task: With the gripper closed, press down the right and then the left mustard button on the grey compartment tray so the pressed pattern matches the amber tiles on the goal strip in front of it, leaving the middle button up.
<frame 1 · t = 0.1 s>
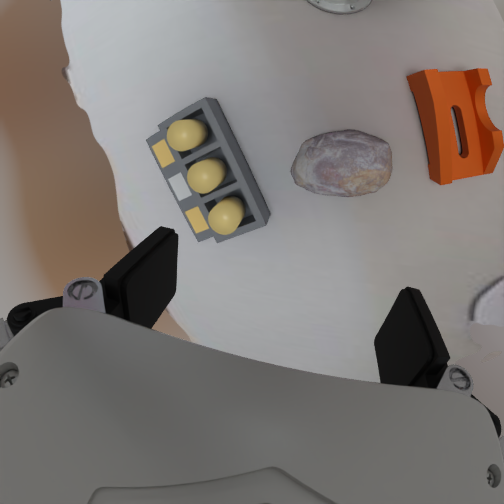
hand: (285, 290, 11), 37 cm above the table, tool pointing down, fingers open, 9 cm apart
stone: (340, 163, 43), on the table
goal strip: (183, 184, 49), on the table
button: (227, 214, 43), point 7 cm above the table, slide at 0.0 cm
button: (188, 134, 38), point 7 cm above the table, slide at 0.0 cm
button mid: (207, 174, 41), point 7 cm above the table, slide at 0.0 cm
grey compartment tray: (220, 166, 47), on the table
tape dispenser: (448, 123, 35), on the table
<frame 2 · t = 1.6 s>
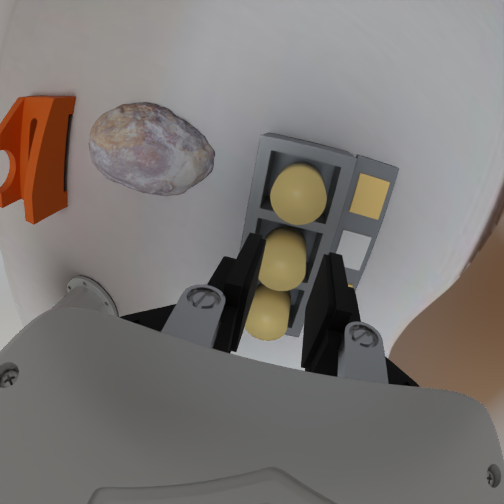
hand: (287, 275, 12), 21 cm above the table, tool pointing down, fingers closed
stone: (154, 148, 32), on the table
goal strip: (350, 247, 33), on the table
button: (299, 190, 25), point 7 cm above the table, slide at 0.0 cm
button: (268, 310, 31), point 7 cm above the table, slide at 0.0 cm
button mid: (282, 257, 28), point 7 cm above the table, slide at 0.0 cm
grey compartment tray: (287, 231, 34), on the table
tape dispenser: (48, 147, 35), on the table
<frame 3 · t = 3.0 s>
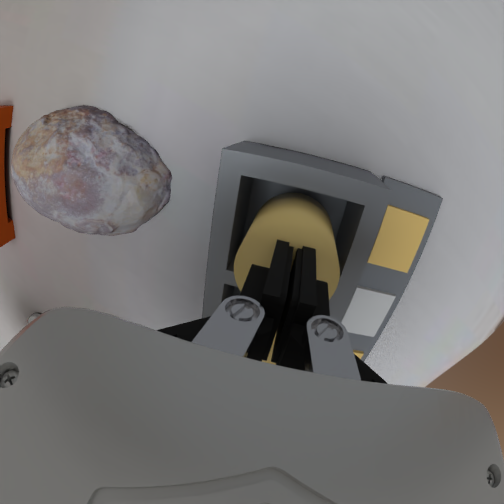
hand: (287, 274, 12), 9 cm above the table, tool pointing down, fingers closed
stone: (95, 168, 22), on the table
goal strip: (364, 307, 23), on the table
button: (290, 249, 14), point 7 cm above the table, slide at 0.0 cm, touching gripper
button mid: (263, 343, 17), point 7 cm above the table, slide at 0.0 cm
grey compartment tray: (275, 286, 23), on the table
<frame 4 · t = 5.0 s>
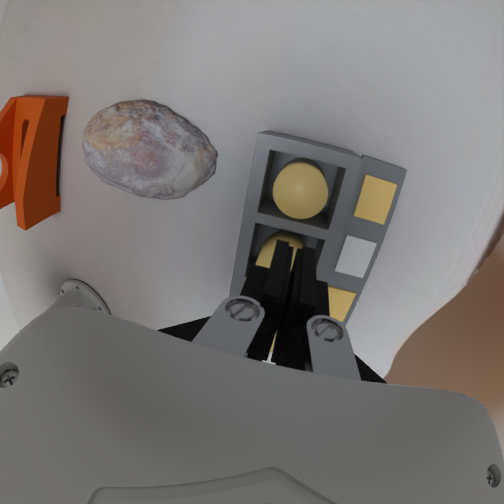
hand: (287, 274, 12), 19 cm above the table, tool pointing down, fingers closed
stone: (152, 148, 30), on the table
goal strip: (354, 253, 31), on the table
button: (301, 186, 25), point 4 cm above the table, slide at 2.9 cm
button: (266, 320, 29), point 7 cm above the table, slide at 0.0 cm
button mid: (281, 265, 26), point 7 cm above the table, slide at 0.0 cm
grey compartment tray: (287, 236, 32), on the table
tape dispenser: (41, 149, 33), on the table
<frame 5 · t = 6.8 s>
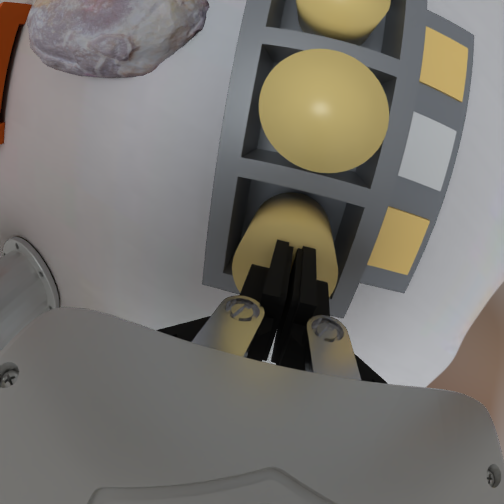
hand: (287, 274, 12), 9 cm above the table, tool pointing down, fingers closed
stone: (117, 20, 15), on the table
goal strip: (423, 150, 16), on the table
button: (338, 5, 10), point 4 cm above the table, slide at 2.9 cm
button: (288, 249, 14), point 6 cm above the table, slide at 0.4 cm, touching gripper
button mid: (321, 111, 11), point 7 cm above the table, slide at 0.0 cm
grey compartment tray: (315, 115, 17), on the table
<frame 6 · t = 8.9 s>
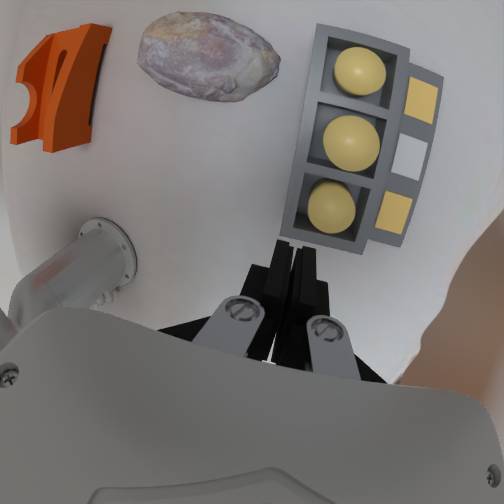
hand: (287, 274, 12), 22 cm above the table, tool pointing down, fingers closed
stone: (210, 56, 27), on the table
goal strip: (407, 155, 27), on the table
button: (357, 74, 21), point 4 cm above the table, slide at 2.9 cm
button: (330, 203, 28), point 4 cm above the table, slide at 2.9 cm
button mid: (348, 141, 22), point 7 cm above the table, slide at 0.0 cm
grey compartment tray: (341, 136, 28), on the table
tape dispenser: (74, 83, 31), on the table
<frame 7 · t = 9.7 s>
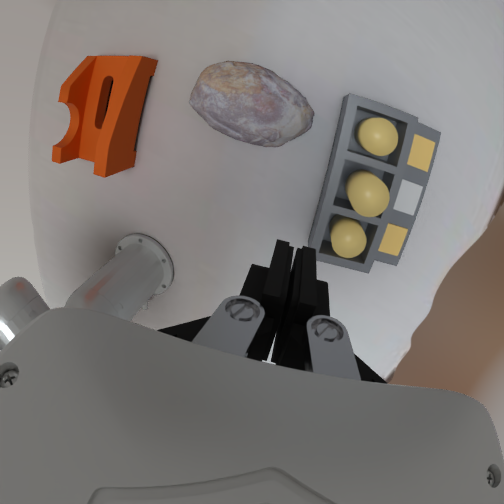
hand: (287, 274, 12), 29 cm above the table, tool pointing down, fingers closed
stone: (253, 104, 35), on the table
goal strip: (406, 196, 36), on the table
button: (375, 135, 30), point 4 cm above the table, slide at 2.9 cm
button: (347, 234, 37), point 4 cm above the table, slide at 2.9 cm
button mid: (366, 191, 31), point 7 cm above the table, slide at 0.0 cm
grey compartment tray: (357, 180, 37), on the table
tape dispenser: (116, 108, 38), on the table
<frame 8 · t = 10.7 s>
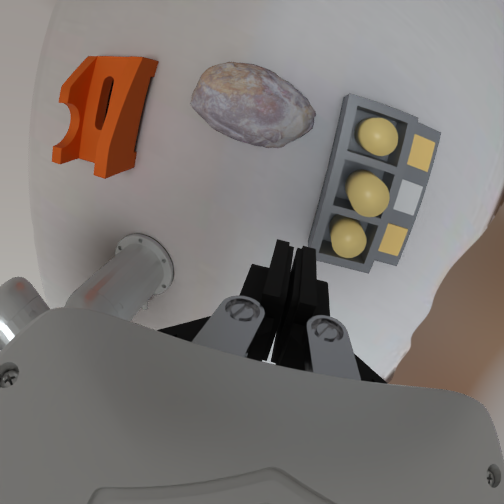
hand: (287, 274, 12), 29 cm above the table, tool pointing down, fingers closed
stone: (255, 104, 35), on the table
goal strip: (406, 196, 36), on the table
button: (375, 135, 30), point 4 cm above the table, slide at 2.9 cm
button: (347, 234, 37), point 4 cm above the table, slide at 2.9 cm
button mid: (366, 192, 31), point 7 cm above the table, slide at 0.0 cm
grey compartment tray: (357, 180, 37), on the table
tape dispenser: (116, 109, 39), on the table
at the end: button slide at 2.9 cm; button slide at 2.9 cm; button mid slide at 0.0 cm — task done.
